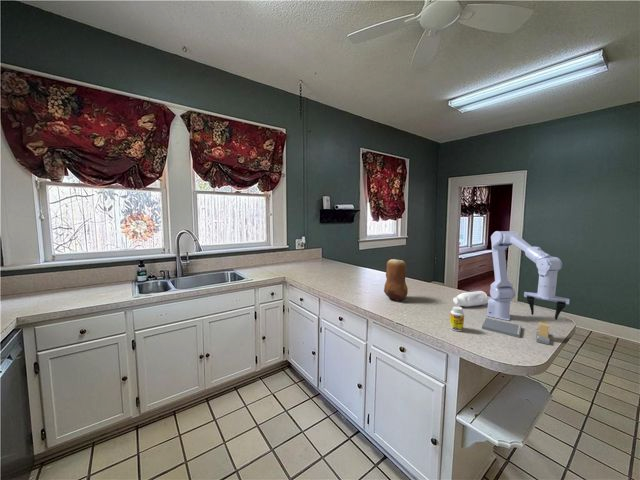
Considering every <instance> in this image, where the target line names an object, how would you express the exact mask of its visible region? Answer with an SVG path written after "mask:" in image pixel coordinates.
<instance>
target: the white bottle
mask: <svg viewBox="0 0 640 480" xmlns="http://www.w3.org/2000/svg"><path fill="white" fill-rule="evenodd" d="M488 300H489V298H488V295H487V293H486V292H484V291H482V290H477V291H475V290H474V291H468V292H462V293H460V294H457V296H456V297H453V298H452V301H453V303H454V304H455V305H456V306H457V307H465V308H468V307H469V308H470V307H476V306H485V305H487V304H488Z"/></svg>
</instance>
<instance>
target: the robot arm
mask: <svg viewBox="0 0 640 480" xmlns="http://www.w3.org/2000/svg"><path fill="white" fill-rule="evenodd" d="M490 241H491V253H492V262H493V263H492V264H493V272H494V281H493V282H492V283H491V284H490V290H489V295H490V297H489V298H488V301H487V308H486V309H487V310H486V312H487V313H486V316H487V317H491V318H495V319H499V320H504V321H508V322H509V321H510V320H511V317H512V316H511V314H510V312H511V302H512V300H513V299H514V298H516V297H515V296H516V292H515V289H514V286H513V283H511V282H510V281H509V279H508V278H509V277H508V269H507V261H506V260H507V259H506V251H505V250H506V249H508V248H509V247H511V246H512V245H513V246H515V247H517V248H519V249H520V250H521V251H523V252H524V255H525V257H527V258H528V259H529V260H530V261H532V262H533V263H534V264H535V265H536V269H537V273H538V284H537V292H530V291H524V293H523V297H524V298H526V301H527V303H528V305H529V308H530V314H531V316H534V311H535V310H534V305H535V299H537V300H543V301H550V302H554V303H556V305H555V307H556V308H555V314H554V320H558V317H559V315H560V313H561V312H562V311H563V310H564V308H566V305H570V300H571V299H570V298H566V297H562V296H558V295H556V290H557V282H558V272H559V271H560V270H562V269H563V268H562V267H563V262H562V260H561V259H560V258H559V257H556V256H551V255H550V254H549V253H547V252H545V251H544V250H543V249H541V247H540V246H532V245H531V244H530V243H528V242H527V241H526V240H524V239H523V238H522V237H521V236H520V234H519V232H518V233H517V232H516V231H514V230H507V231H503V230H501V231H499V230H496V231H494V232H493V233H492V234H491V236H490Z"/></svg>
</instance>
